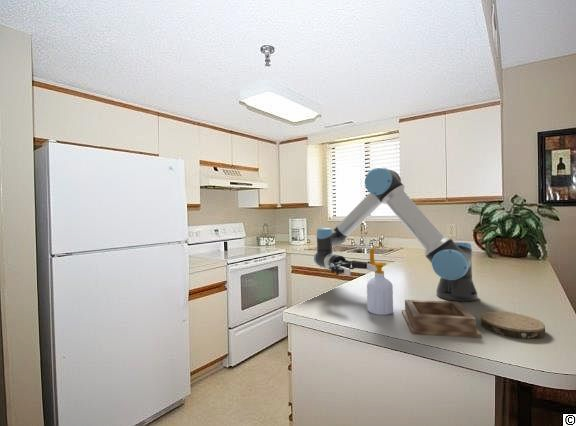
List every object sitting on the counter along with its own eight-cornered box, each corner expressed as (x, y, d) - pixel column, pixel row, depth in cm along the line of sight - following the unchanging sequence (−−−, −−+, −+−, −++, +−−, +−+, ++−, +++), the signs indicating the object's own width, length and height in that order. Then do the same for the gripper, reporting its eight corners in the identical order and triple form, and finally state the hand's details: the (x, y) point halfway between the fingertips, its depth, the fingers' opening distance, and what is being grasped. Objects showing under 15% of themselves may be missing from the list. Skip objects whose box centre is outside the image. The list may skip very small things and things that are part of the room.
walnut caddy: (458, 314, 106) (458, 300, 106) (481, 337, 87) (481, 320, 87) (401, 312, 110) (401, 298, 110) (411, 333, 91) (411, 317, 91)
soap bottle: (389, 317, 106) (388, 247, 105) (364, 312, 110) (362, 246, 110) (395, 309, 113) (394, 244, 113) (371, 305, 118) (370, 243, 118)
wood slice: (545, 327, 94) (545, 318, 94) (544, 345, 82) (544, 334, 82) (485, 316, 104) (485, 308, 104) (476, 331, 93) (476, 321, 93)
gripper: (358, 268, 144) (388, 276, 125) (311, 273, 135) (337, 283, 115) (357, 252, 144) (388, 258, 125) (311, 256, 135) (336, 264, 115)
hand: (363, 270), depth 120 cm, fingers open, 13 cm apart
